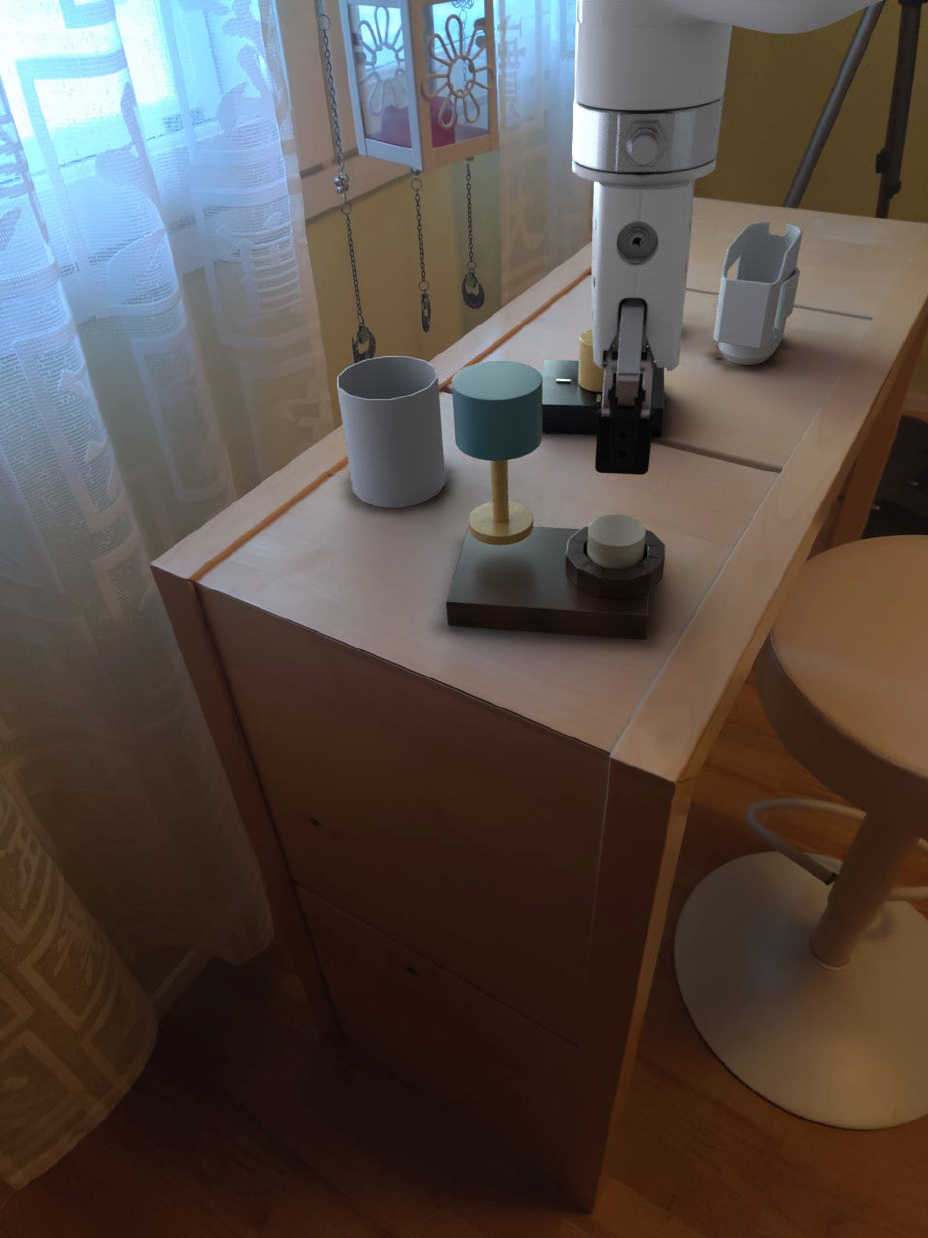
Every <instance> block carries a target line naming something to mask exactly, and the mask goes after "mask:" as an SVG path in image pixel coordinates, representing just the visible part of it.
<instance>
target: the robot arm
mask: <svg viewBox="0 0 928 1238" xmlns="http://www.w3.org/2000/svg"><path fill="white" fill-rule="evenodd" d="M882 1H884V0H576V1H575V2H576V3H575V4H576V5H575V6H576V7H575V46H574V47H575V48H574V49H575V50H574V51H575V54H574V100H573V120H572V121H573V124H572V125H573V127H572V128H573V129H572V166H571V167H572V168H571V169H572V172H573V174H575V175H576V176H577V177H580V178H581V179H583V180H587V181H591V182H593V201H592V202H593V205H592V234H591V236H592V239H591V327H592V328H591V329H592V334H593V359H594V363H595V364H596V365H597V366H598V367H599V368H601V369H603V367H604V382H603V397H602V409H598V416H597V435H596V439H595V457H594V459H595V461H594V468H595V471H596V472H597V473H599V474H614V475H615V474H616V475H634V476H635V475H637V476H642V475H646V474H647V473H648V472H649V468H650V458H651V449H652V448H651V447H652V438H653V437H652V426H653V415H654V411H650V404H651V391H652V379H653V370H654V362H655V363H656V366H657V368H664V369H666V371H667V372H672V371H674V370H675V369H676V368H677V367H678V366H679V364H680V356H681V355H680V354H681V343H682V342H681V341H682V332H683V321H684V319H683V318H684V310H685V300H686V290H687V279H688V271H689V261H690V252H691V251H690V250H691V241H692V229H693V228H692V227H693V214H694V213H693V212H694V194H695V193H694V191H695V190H694V189H695V188H694V187H695V185H694V184H695V183H694V182H695V180H698V179H701V178H704V177H706V176H708V175H710V174H711V173H712V172H714V171H715V169H716V166H717V157H718V156H717V155H718V149H719V141H720V131H721V125H722V124H721V123H722V116H723V106H724V97H725V89H726V80H727V71H728V63H729V55H730V47H731V45H730V44H731V38H732V31H733V26H734V27H738V28H743V29H746V30H751V31H756V32H761V33H768V34H776V35H777V34H779V35H790V34H791V35H795V34H802V33H808V32H809V33H810V32H812V31H813V32H814V31H816V30H820V29H823V28H825V27H827V26H830V25H832V24H835V23H837V22H839V21H841V20H844V19H845V18H848V17H850V16H852V15H854V14H856V13H858V12H859V11H861V10H864V9H865V8H868V7H871V6H873V5H875V4H878V3H880V2H882Z"/></svg>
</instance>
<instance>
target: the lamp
mask: <svg viewBox="0 0 928 1238" xmlns="http://www.w3.org/2000/svg"><path fill="white" fill-rule="evenodd" d="M542 383H543V379H542V376H541V372H540V371H539V370H538V369H536V368H535V367H533V366H531V365H529V364H526V363H523V362H518V361H510V360H491V361H483V362H478V363H473V364H471V365H469V366H466V367H464V368H462V369H460V370H459V371H458V372H456V373H455V374H454V376H453V377H452V379H451V392H452V408H453V424H454V437H455V438H454V441H455V442H454V443H455V445H456V447H457V449H458V450H459V451H461V452H462V453H463V454H465V455H466V456H468V457H470V458H474V459H477V460H481V461H490V477H491V478H490V479H491V480H490V481H491V501H488V502H485V503H483V504H480V505H478V506H476V507H475V508H474V509H473V510H471V511H470V514H469V516H468V526H469V531H470V533H471V535H472V536H473V537H474V538H475V539H477V540H478V541H480V542H483V543H486V544H490V545H510V544H514V543H517V542H520V541H522V540H524V539H525V538H527V537H528V536H529V535H530V534H531V532H532V531H533V526H534V514H533V512H532V511H531V510H530V508H529V507H527V506H526V505H524V504H522V503H519V502H516V501H512V500H511V501H510V500H509V461H510V460H511V461H512V460H516V459H520V458H523V457H525V456H527V455H530V454H531V453H533V452H534V451H536V450H537V449H538V448H539V447H540V446H541V444H542V441H543V433H542Z"/></svg>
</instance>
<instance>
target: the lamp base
mask: <svg viewBox="0 0 928 1238" xmlns="http://www.w3.org/2000/svg"><path fill="white" fill-rule="evenodd" d="M588 527H589V525H586V526H584V527H581V528H570V527H552V526H551V527H550V526H535V525H533V531H532V532H531V534H530V535H529V536H528V537H527V538H525V539H524V540H522V541H520V542H517V543H514V544H510V545H490V544H486V543H483V542H480V541H478V540H477V539H475V538H474V537H473V536H472V535H471V533H470V531H469V525H468V526H467V530H466V533H465V536H464V539H463V543H462V547H461V550H460V553H459V557H458V560H457V564H456V567H455V571H454V572H453V573H454V574H453V576H452V580H451V583H450V588H449V590H448V594H447V597H446V601H445V605H446V606H445V608H446V618H447V625H448V626H456V627H467V628H480V629H481V628H482V629H495V630H508V631H509V630H510V631H523V632H536V633H549V634H550V633H551V634H564V635H578V636H589V637H592V636H593V637H603V638H604V637H606V638H618V639H619V638H620V639H632V640H633V639H634V640H646V638H647V632H648V631H647V629H648V621H649V595H650V592H651V591H652V590H654V589H655V588H656V586H658V584H660V583H661V582H662V581H663V580H664V579H663V578H664V570H665V561H666V545H665V543H664V542H663V541H662V540H661V539H660V538H659V537H658V536H657V535H656V534H655V533H654V532H653V531H651V530H650V529H646V528H645V530H646V536H645V546H644V556H643V559H642V560H641V562H640V563H639V564H637V565H636V566H632V567H628V568H625V569H616V568H604V567H602V566H599V565H597V564H595V563H593V562H591V560H590V559H589V558H588V555H587V542H588Z"/></svg>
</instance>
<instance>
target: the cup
mask: <svg viewBox="0 0 928 1238" xmlns="http://www.w3.org/2000/svg"><path fill="white" fill-rule="evenodd" d="M336 389H337V395H338V402H339V408H340V415H341V422H342V428H343V434H344V435H343V436H344V441H345V448H346V455H347V462H348V468H349V475H350V482H351V489H352V493H353V494H354V495H355V496H356V497H357V498H358V499H359V500H361V502H363V503H366V504H369V505H371V506H376V507H379V508H405V507H411V506H414V505H419V504H423V503H425V502H426V501H428V500H430V499H432V498H434V497H435V496H437V495H438V494H439V493H440V492H441V491H442V489H443V487H444V486H445V484H446V471H445V470H446V468H445V455H444V444H443V443H444V441H443V428H442V417H441V416H442V415H441V401H440V400H441V399H440V387H439V376H438V371H437V368H436V366H434V365H433V364H431V363H429V362H428V361H427V360H425V359H421V358H417V357H412V356H409V355H408V356H407V355H385V356H378V357H373V358H369V359H363V360H361V361H359V362H356V363H354V364H352V365H350V366H347V367H345V369H343V371H342V372H341V373H339V374H338V376H337V377H336Z"/></svg>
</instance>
